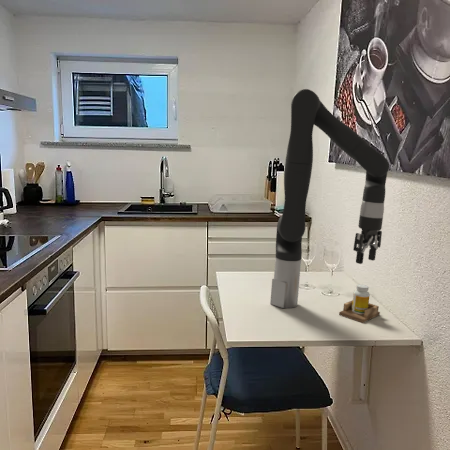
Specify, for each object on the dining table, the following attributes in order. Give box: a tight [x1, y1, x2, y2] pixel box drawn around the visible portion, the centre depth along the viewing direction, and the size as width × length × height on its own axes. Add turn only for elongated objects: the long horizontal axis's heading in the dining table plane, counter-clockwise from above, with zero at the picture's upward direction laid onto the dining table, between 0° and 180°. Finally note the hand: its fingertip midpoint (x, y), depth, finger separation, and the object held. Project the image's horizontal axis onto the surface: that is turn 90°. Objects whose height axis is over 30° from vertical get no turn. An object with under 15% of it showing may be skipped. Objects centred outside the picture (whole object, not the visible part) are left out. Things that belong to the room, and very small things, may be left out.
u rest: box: [338, 299, 381, 324], centre depth 165 cm, size 12×9×4 cm
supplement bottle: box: [352, 283, 371, 315], centre depth 164 cm, size 5×5×10 cm
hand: (365, 261), depth 161 cm, fingers open, 8 cm apart
